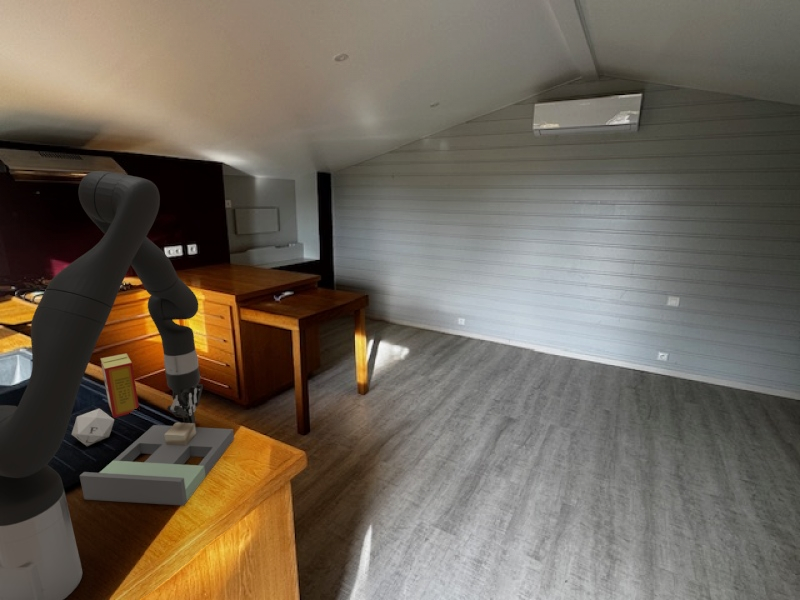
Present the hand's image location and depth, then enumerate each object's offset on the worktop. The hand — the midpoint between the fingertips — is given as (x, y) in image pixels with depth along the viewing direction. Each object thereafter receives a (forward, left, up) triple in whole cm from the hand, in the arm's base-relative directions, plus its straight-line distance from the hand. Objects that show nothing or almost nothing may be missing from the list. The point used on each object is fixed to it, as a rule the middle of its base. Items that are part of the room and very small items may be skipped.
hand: (190, 425), depth 107 cm
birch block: (-4, 0, -1) cm, 4 cm away
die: (-2, +25, -4) cm, 25 cm away
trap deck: (-11, 0, -4) cm, 12 cm away
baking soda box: (+14, +29, -4) cm, 32 cm away
